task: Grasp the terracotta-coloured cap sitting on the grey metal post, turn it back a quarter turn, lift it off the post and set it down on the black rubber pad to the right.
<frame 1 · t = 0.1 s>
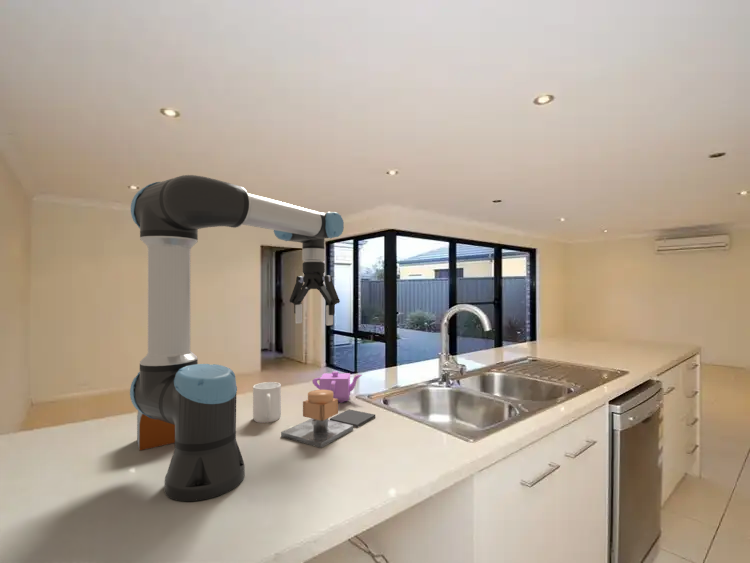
hand: (313, 324, 127), 28 cm above the worktop, fingers open, 13 cm apart
post fixture: (320, 433, 103), on the worktop
pad: (352, 419, 114), on the worktop
orange rounded block: (170, 439, 101), on the worktop
cup: (267, 420, 114), on the worktop
teapot: (337, 401, 134), on the worktop
cap: (320, 414, 103), point 5 cm above the worktop, touching post fixture
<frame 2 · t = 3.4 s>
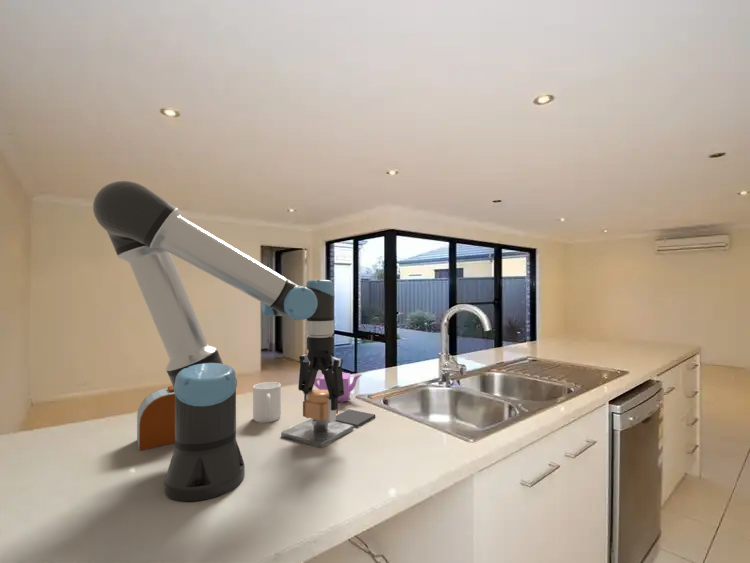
hand: (320, 419, 103), 4 cm above the worktop, fingers closed on cap, 7 cm apart
cap: (320, 414, 103), point 5 cm above the worktop, touching gripper, post fixture
everything else where it was.
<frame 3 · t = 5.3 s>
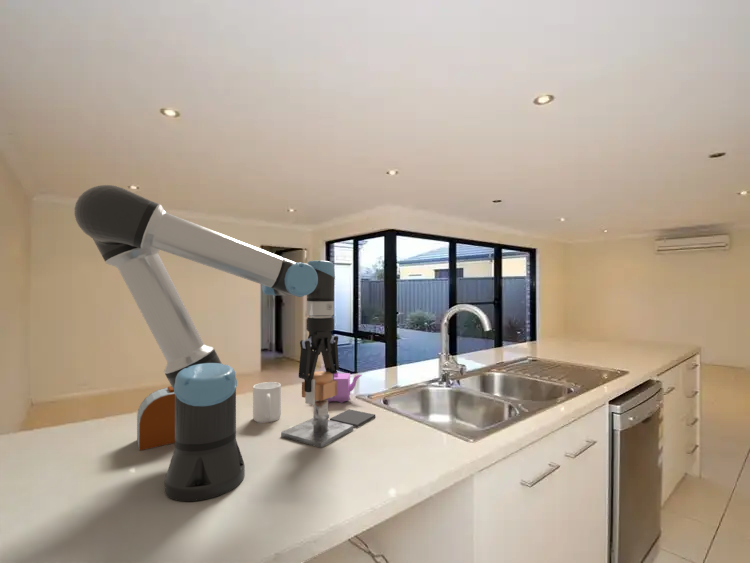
hand: (319, 400, 103), 9 cm above the worktop, fingers closed on cap, 7 cm apart
cap: (319, 395, 103), point 10 cm above the worktop, touching gripper
everything else where it was.
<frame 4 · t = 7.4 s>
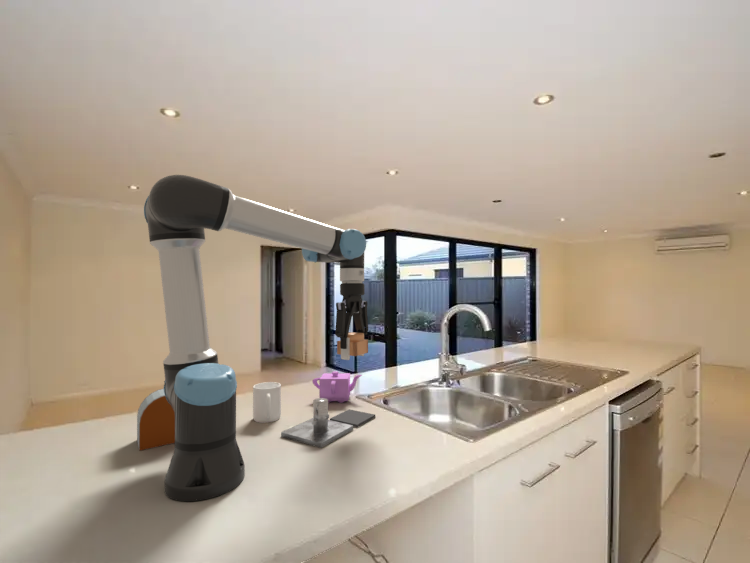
hand: (352, 357, 114), 19 cm above the worktop, fingers closed on cap, 7 cm apart
cap: (352, 353, 114), point 20 cm above the worktop, touching gripper
everything else where it was.
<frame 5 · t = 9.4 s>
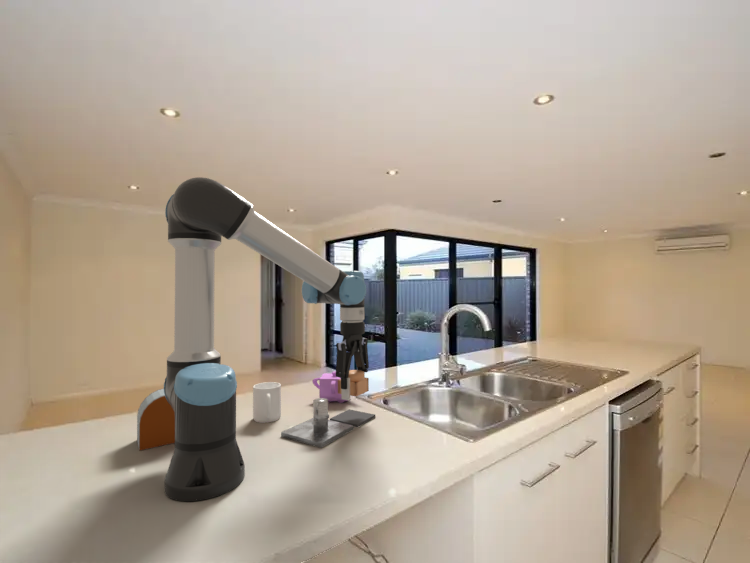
hand: (353, 396, 114), 7 cm above the worktop, fingers closed on cap, 7 cm apart
cap: (353, 392, 114), point 8 cm above the worktop, touching gripper
everything else where it was.
when the fingers open (2 cm above the worktop, at t = 11.3 s): cap drops 2 cm, resting on pad.
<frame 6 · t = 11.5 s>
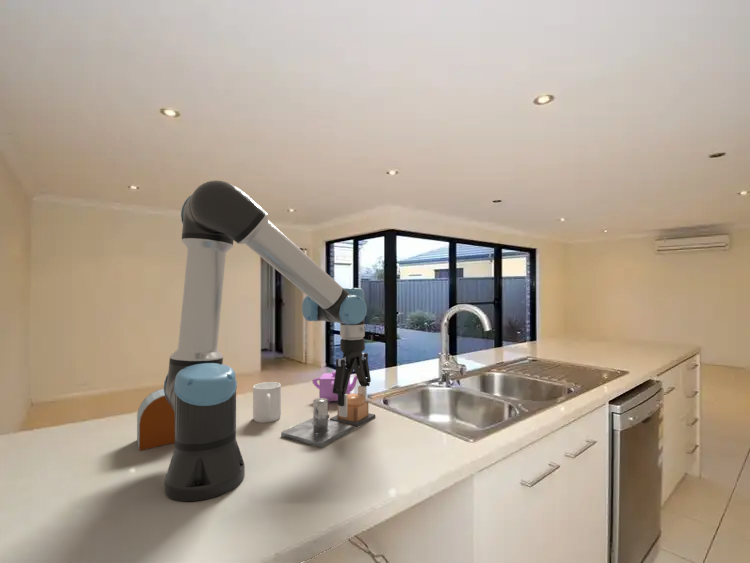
hand: (352, 411, 114), 2 cm above the worktop, fingers open, 9 cm apart
cap: (353, 416, 114), point 1 cm above the worktop, touching pad
everything else where it was.
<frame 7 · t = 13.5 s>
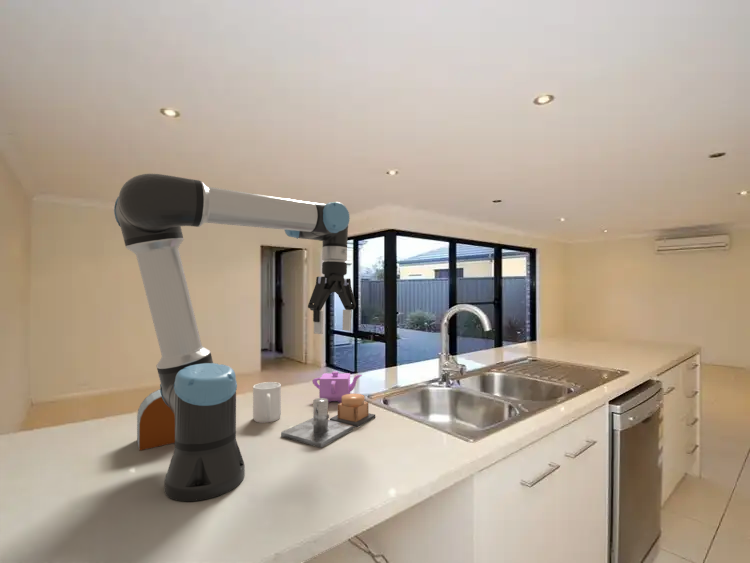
hand: (333, 332, 113), 27 cm above the worktop, fingers open, 13 cm apart
nothing on the worktop moved.
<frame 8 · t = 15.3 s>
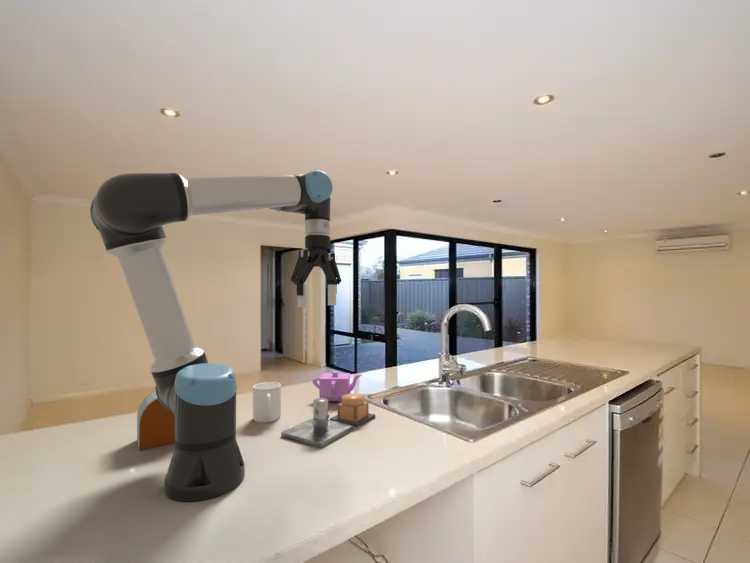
hand: (317, 306, 112), 35 cm above the worktop, fingers open, 13 cm apart
nothing on the worktop moved.
at the end: cap inside the target area on the pad (0.1 cm from its centre), point 0.8 cm above the pad's base; cap tilted 0°; the gripper is holding nothing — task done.
